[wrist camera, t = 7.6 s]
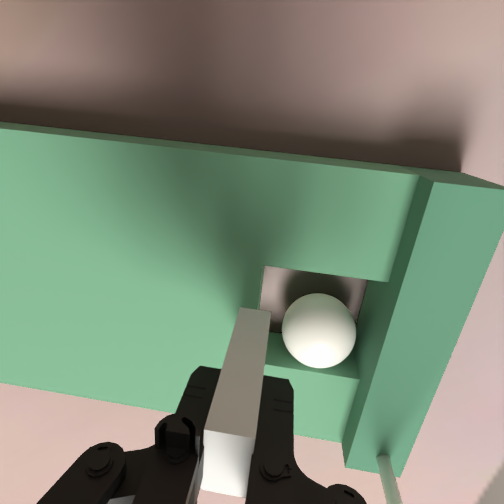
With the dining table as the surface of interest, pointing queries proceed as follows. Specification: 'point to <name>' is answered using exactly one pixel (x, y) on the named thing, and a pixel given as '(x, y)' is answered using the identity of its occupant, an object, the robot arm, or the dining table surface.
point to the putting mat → (234, 274)
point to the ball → (319, 330)
